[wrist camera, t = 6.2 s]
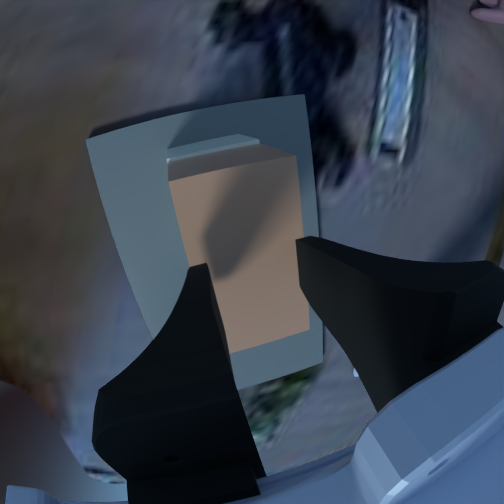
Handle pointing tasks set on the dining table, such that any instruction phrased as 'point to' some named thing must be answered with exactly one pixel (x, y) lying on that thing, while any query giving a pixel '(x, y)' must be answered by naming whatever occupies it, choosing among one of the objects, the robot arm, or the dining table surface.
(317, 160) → the dining table surface
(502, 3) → the pink curved figurine
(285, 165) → the tan rectangular block
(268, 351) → the baseplate
